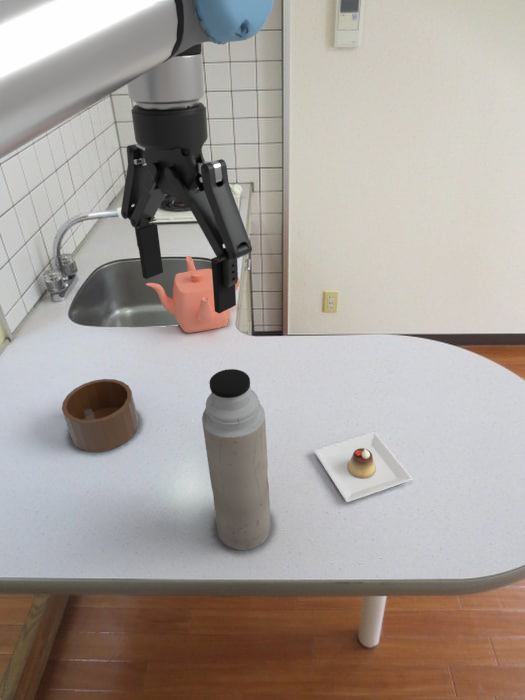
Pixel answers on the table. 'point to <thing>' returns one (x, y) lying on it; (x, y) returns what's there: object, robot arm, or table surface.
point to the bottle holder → (100, 415)
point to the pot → (193, 300)
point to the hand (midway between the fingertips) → (187, 290)
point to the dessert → (362, 466)
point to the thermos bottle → (237, 460)
